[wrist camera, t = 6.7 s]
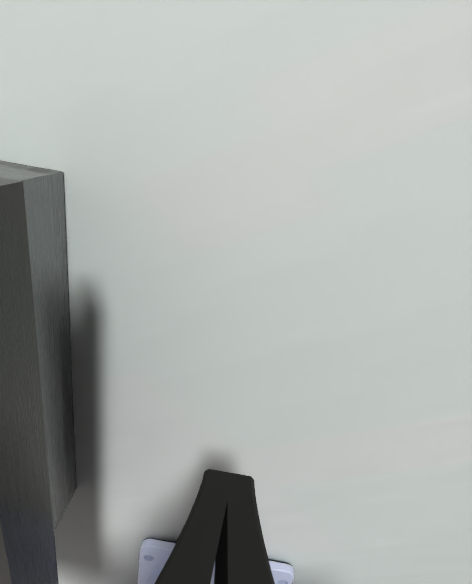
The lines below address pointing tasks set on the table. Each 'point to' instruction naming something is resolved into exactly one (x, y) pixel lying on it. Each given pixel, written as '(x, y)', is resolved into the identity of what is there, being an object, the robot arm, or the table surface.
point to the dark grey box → (51, 320)
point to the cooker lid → (21, 411)
